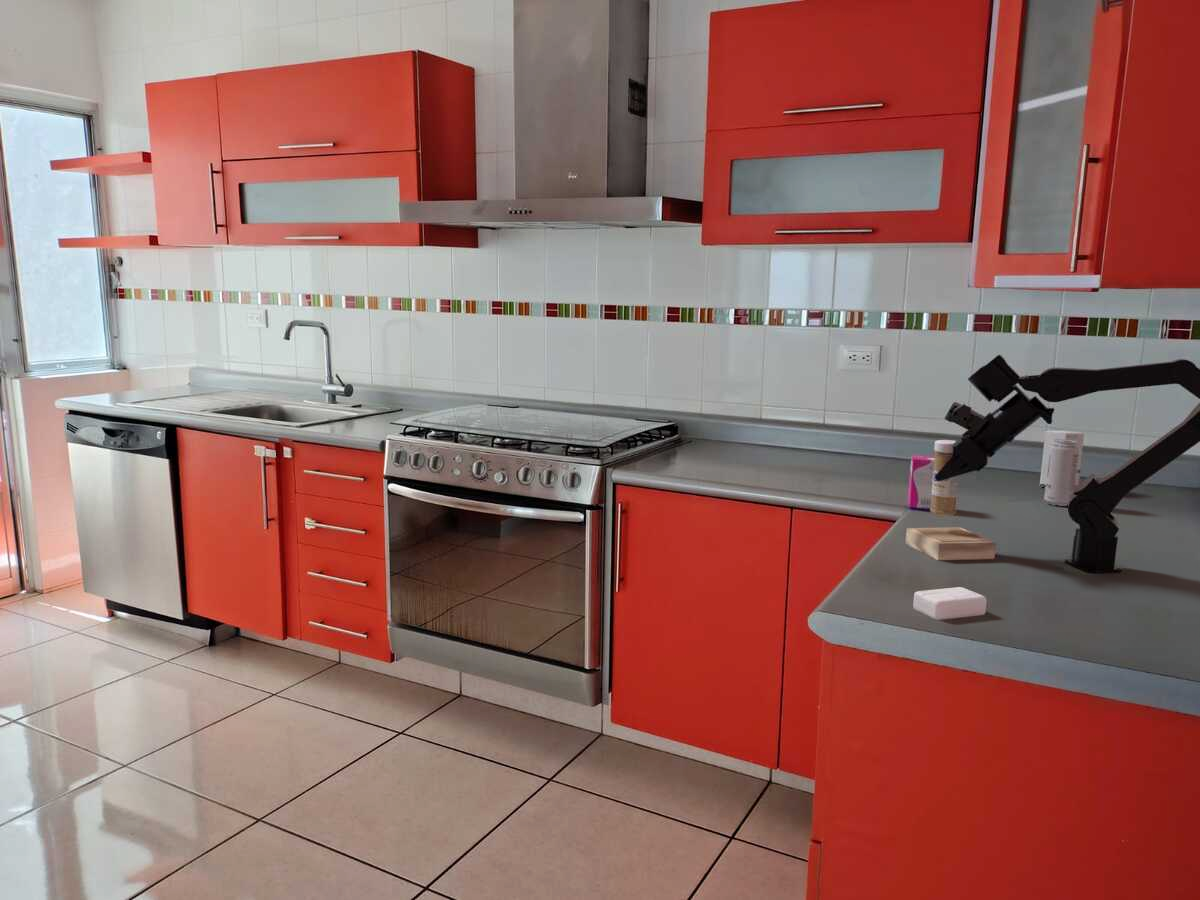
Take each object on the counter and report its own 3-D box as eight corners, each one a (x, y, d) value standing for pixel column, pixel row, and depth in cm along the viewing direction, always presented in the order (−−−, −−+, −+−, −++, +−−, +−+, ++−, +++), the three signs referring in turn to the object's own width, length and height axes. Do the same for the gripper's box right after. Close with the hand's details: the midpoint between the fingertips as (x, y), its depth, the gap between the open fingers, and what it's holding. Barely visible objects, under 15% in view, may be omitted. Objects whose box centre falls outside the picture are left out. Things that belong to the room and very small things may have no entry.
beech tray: (994, 558, 158) (996, 541, 158) (937, 560, 156) (939, 542, 156) (958, 542, 169) (960, 526, 169) (905, 543, 167) (906, 527, 166)
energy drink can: (1044, 500, 212) (1051, 438, 210) (1073, 504, 209) (1080, 440, 207) (1042, 504, 207) (1049, 441, 205) (1071, 508, 204) (1079, 443, 202)
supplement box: (933, 506, 201) (938, 456, 200) (936, 511, 196) (941, 460, 194) (906, 504, 203) (911, 454, 201) (908, 509, 197) (913, 458, 196)
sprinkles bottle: (924, 511, 166) (929, 440, 164) (942, 509, 168) (946, 438, 166) (944, 516, 162) (949, 443, 160) (961, 514, 164) (967, 442, 162)
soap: (959, 604, 133) (961, 585, 133) (987, 616, 128) (989, 596, 128) (910, 610, 130) (912, 590, 130) (936, 622, 125) (938, 601, 125)
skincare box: (1060, 492, 223) (1066, 433, 221) (1037, 487, 229) (1043, 430, 226) (1079, 489, 228) (1086, 432, 226) (1056, 485, 233) (1063, 428, 231)
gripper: (980, 384, 168) (914, 438, 175) (970, 391, 152) (899, 450, 158) (1022, 429, 166) (955, 482, 172) (1018, 440, 149) (943, 498, 156)
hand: (937, 477), depth 165 cm, fingers closed on sprinkles bottle, 4 cm apart
